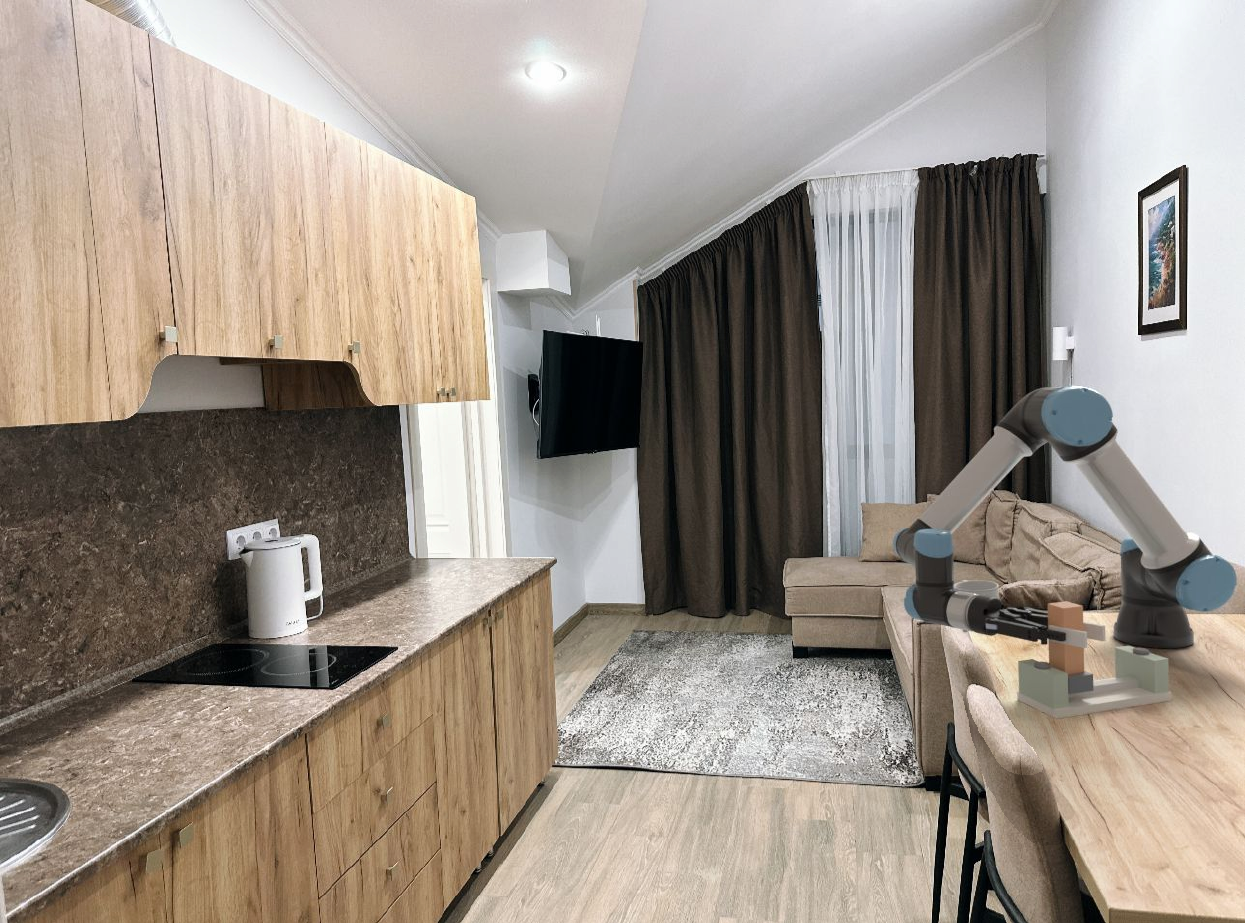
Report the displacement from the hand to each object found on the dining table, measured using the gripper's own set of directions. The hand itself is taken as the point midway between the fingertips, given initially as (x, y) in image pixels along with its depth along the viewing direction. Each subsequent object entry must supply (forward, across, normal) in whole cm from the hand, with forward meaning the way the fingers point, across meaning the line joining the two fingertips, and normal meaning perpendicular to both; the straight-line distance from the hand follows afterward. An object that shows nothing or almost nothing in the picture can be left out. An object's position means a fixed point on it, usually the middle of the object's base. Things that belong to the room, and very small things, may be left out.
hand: (1094, 636), depth 149 cm
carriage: (-5, 0, -10) cm, 11 cm away
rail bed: (-3, -5, -14) cm, 15 cm away
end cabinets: (-3, -5, -12) cm, 13 cm away
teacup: (-54, -43, -14) cm, 71 cm away
